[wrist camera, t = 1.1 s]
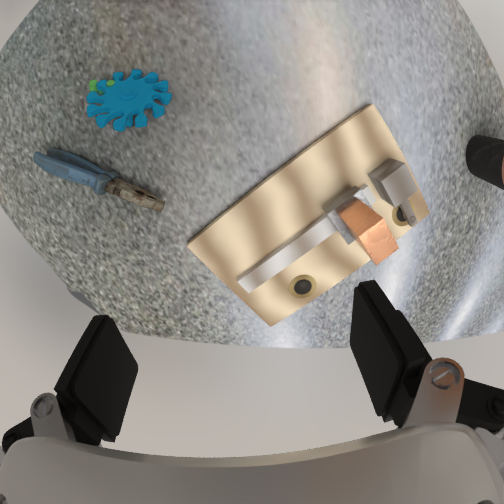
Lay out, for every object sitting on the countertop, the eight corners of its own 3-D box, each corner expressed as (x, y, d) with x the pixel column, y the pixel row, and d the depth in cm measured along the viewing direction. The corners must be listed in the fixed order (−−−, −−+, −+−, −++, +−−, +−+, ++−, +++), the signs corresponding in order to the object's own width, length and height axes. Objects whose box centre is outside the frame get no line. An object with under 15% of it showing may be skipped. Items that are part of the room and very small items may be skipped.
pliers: (172, 192, 35) (160, 206, 29) (166, 207, 35) (154, 223, 30) (54, 143, 30) (29, 149, 25) (51, 157, 31) (26, 165, 26)
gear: (190, 84, 27) (131, 136, 23) (183, 117, 32) (133, 169, 29) (121, 55, 26) (62, 100, 22) (121, 87, 31) (70, 132, 27)
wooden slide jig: (368, 104, 30) (388, 103, 25) (424, 209, 36) (445, 223, 31) (188, 241, 38) (181, 260, 33) (269, 320, 44) (272, 344, 39)
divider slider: (352, 183, 32) (389, 208, 24) (384, 238, 36) (420, 274, 27) (320, 206, 34) (347, 239, 25) (356, 259, 37) (385, 300, 28)
